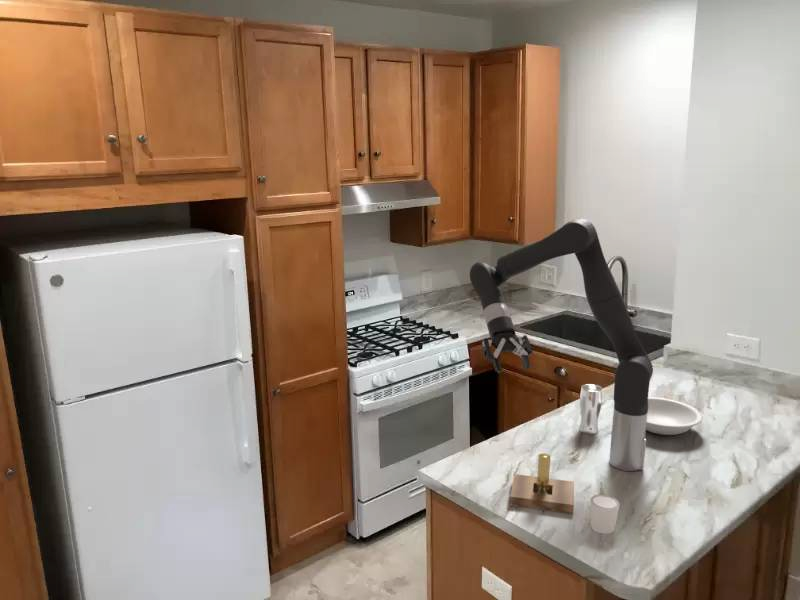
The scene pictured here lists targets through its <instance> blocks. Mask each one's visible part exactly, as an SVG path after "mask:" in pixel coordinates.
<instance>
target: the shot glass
mask: <svg viewBox="0 0 800 600" xmlns="http://www.w3.org/2000/svg"><path fill="white" fill-rule="evenodd" d="M589 500H590V501H589V503H590V504H589V506H590V509H589V510H590V527H591V528H592V530H594V531H596V532H597V533H600V534H603V535H604V534H605V535H608V534H613V533H614V531H615V529H616V524H617V519H618V515H619V510H620V502H619V500H617V498H615V497H613V496H610V495H606V494H594V495H592V496H591V497H590V499H589Z"/></svg>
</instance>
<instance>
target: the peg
mask: <svg viewBox="0 0 800 600" xmlns="http://www.w3.org/2000/svg"><path fill="white" fill-rule="evenodd" d="M537 459H538V460H537V461H538V463H537V476H536V477H537V492H536V493H541V494H548V495H549V493H548V487H549V479H550V469H551V468H550V467H551V456H550V454H548V453H539V454H538V458H537Z"/></svg>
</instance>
